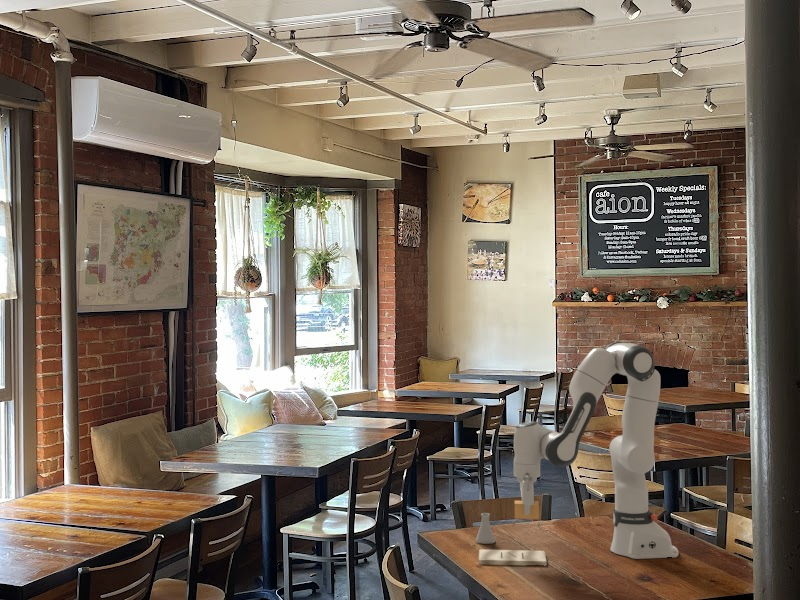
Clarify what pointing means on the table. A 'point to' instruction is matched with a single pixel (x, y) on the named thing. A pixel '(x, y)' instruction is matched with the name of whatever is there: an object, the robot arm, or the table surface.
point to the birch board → (511, 557)
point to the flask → (485, 531)
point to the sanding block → (520, 510)
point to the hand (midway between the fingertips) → (526, 512)
